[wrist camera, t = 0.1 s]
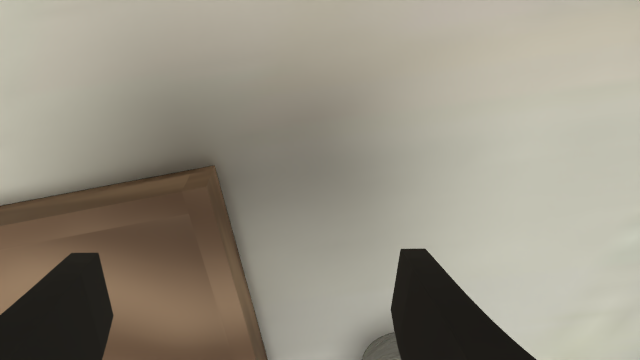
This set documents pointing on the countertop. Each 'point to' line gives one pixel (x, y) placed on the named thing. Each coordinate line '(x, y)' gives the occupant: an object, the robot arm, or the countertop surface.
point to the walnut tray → (144, 264)
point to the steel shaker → (383, 349)
